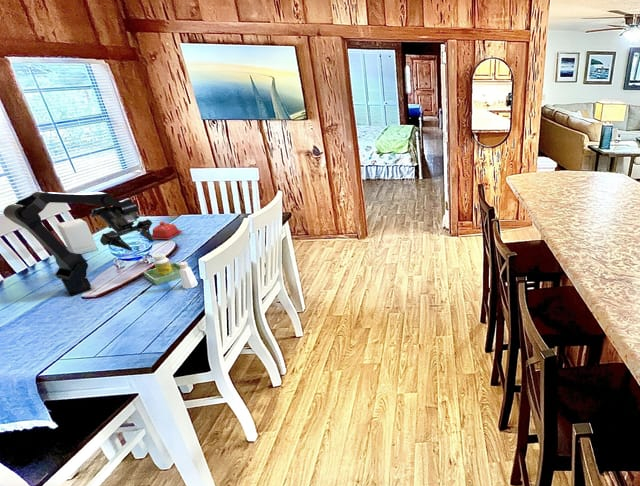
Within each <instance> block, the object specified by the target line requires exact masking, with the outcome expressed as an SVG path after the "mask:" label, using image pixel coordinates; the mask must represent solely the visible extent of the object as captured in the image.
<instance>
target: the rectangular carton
mask: <svg viewBox="0 0 640 486" xmlns="http://www.w3.org/2000/svg"><path fill="white" fill-rule="evenodd" d="M56 227H57V229H58V231H59V233H60V235H61V237H62V240H63V241H64V243H65V245H66V248H67V250H68V251H69V252H74V253H79V254H81V255H83V254H86V253H89V252H93V251H97V250H99V247H98V245H97V243H96V241H95V239H94V237H93V234H92V232H91V230H90V228H89V225H88V223H87V222H86V221H85V220H83V219H82V218H76V219H72V220H67V221H62V222H57V223H56Z"/></svg>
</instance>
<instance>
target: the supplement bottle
mask: <svg viewBox="0 0 640 486" xmlns="http://www.w3.org/2000/svg"><path fill="white" fill-rule="evenodd" d="M170 263H171V261H170V259H169V258H168V257H166V254H165V253H163V252H162V253H157V254H154V255H153V265H154V268H156V270H157V273H158V275H159V276H160V277H163V276H166V275H169V274H172V273H173V269H172V267H171V264H170Z"/></svg>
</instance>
